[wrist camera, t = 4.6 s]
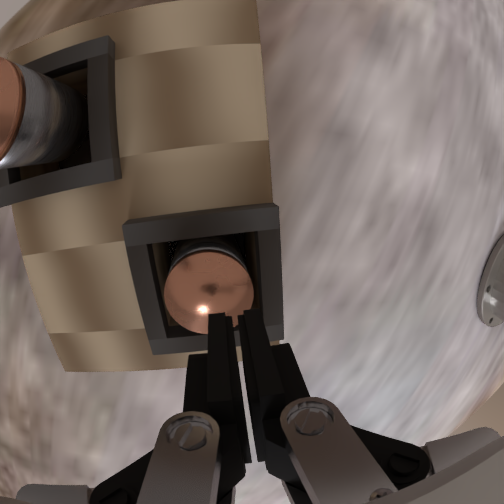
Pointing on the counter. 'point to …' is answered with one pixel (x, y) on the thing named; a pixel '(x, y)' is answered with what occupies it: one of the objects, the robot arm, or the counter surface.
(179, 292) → the peg
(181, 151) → the maple block
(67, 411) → the counter surface
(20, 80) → the peg
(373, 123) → the counter surface
